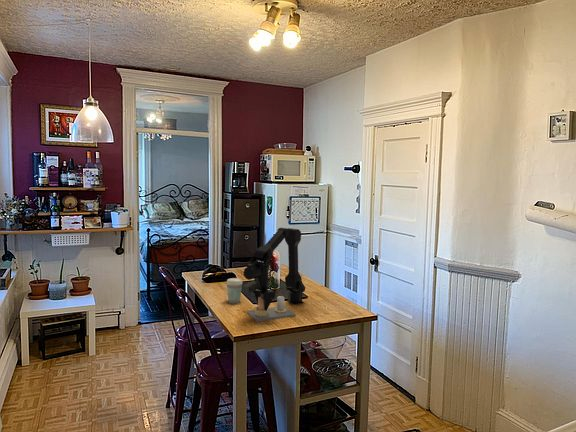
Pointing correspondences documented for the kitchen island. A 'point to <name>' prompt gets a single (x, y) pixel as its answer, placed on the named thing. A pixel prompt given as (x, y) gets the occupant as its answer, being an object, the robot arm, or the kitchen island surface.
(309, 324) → the kitchen island surface
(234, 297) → the coffee cup
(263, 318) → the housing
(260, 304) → the brown peg
